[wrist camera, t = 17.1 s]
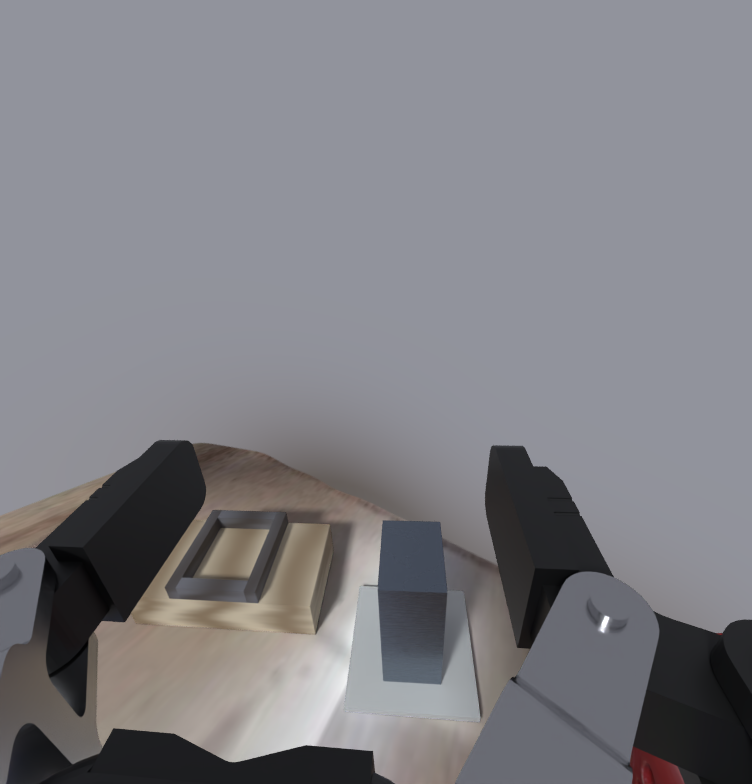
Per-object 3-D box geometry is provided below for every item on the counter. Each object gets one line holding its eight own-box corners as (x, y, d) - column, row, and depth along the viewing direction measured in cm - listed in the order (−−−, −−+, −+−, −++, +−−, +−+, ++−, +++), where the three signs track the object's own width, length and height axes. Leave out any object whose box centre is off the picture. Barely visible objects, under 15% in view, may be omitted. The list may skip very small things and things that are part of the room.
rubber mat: (344, 711, 29) (343, 707, 28) (360, 589, 38) (359, 585, 37) (479, 722, 28) (480, 718, 28) (463, 594, 37) (463, 590, 36)
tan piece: (136, 623, 35) (115, 584, 33) (186, 544, 43) (172, 508, 41) (315, 634, 34) (307, 594, 31) (333, 550, 42) (328, 513, 39)
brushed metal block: (383, 681, 30) (377, 590, 25) (386, 607, 35) (382, 520, 30) (441, 684, 30) (447, 592, 25) (435, 609, 35) (440, 521, 30)
